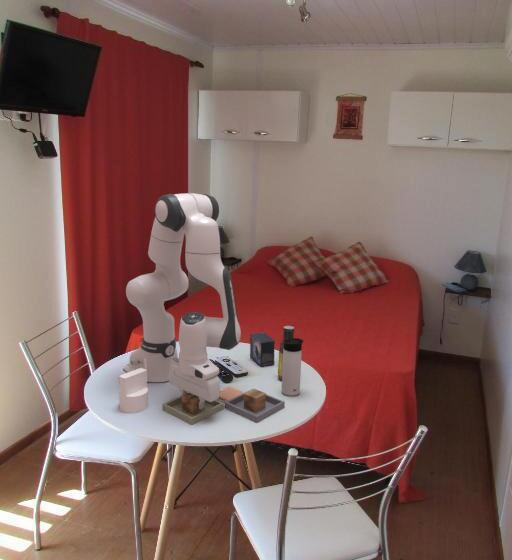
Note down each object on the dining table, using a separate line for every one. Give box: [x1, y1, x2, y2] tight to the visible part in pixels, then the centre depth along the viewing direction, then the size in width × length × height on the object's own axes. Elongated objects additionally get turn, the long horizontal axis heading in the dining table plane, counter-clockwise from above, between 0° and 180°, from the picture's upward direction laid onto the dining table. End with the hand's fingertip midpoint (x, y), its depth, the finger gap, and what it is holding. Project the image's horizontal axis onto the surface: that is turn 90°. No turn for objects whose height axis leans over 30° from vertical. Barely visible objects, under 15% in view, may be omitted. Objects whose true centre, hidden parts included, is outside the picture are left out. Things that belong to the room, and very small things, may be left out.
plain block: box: [244, 388, 267, 413], centre depth 169 cm, size 5×5×5 cm
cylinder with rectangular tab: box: [118, 368, 149, 414], centre depth 167 cm, size 9×9×12 cm
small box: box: [249, 332, 276, 368], centre depth 207 cm, size 11×6×10 cm, turn 25°
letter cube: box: [181, 392, 204, 415], centre depth 167 cm, size 5×5×5 cm
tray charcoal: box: [224, 388, 286, 424], centre depth 169 cm, size 14×14×2 cm
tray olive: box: [162, 395, 225, 426], centre depth 167 cm, size 14×14×2 cm
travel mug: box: [281, 337, 304, 398], centre depth 179 cm, size 6×7×20 cm
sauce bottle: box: [277, 325, 295, 381], centre depth 191 cm, size 6×6×20 cm
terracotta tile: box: [218, 386, 245, 402], centre depth 178 cm, size 8×8×1 cm
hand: (193, 404), depth 167 cm, fingers closed on letter cube, 5 cm apart
